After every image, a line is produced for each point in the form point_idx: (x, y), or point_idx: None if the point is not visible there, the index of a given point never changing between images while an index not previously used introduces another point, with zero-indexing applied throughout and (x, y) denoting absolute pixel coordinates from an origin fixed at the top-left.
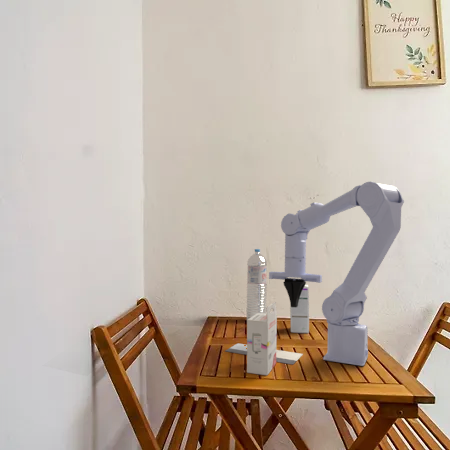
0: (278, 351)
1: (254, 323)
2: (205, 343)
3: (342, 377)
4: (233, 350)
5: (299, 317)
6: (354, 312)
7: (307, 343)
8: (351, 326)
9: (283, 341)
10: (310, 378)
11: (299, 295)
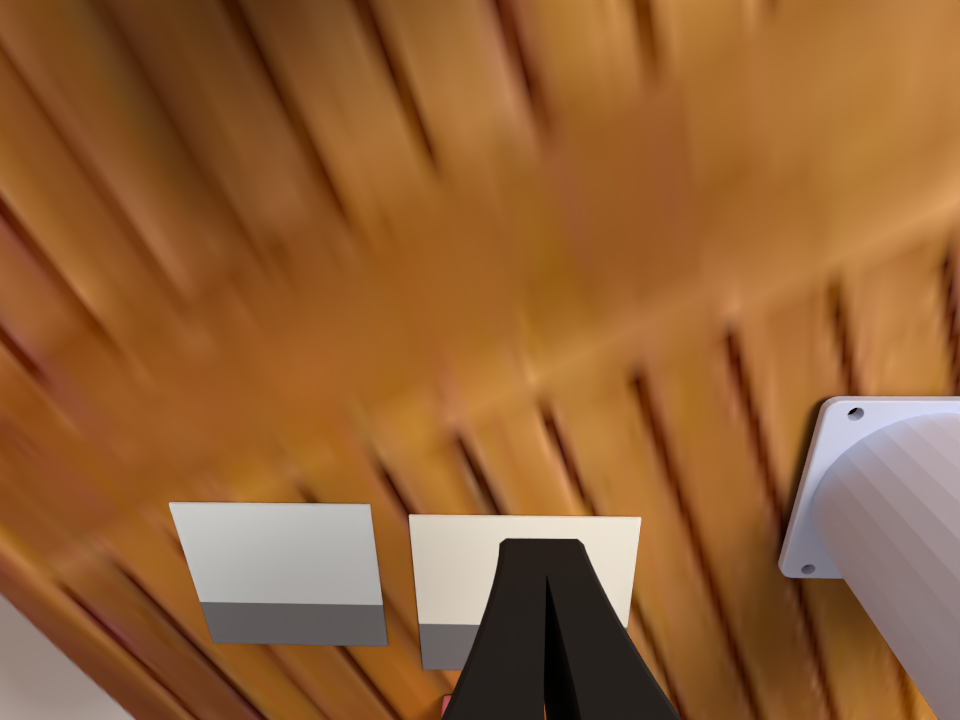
0: (481, 539)
1: None
2: (17, 574)
3: (869, 713)
4: (246, 621)
5: None
6: None
7: (623, 247)
8: None
9: (416, 292)
10: None
11: (650, 714)
